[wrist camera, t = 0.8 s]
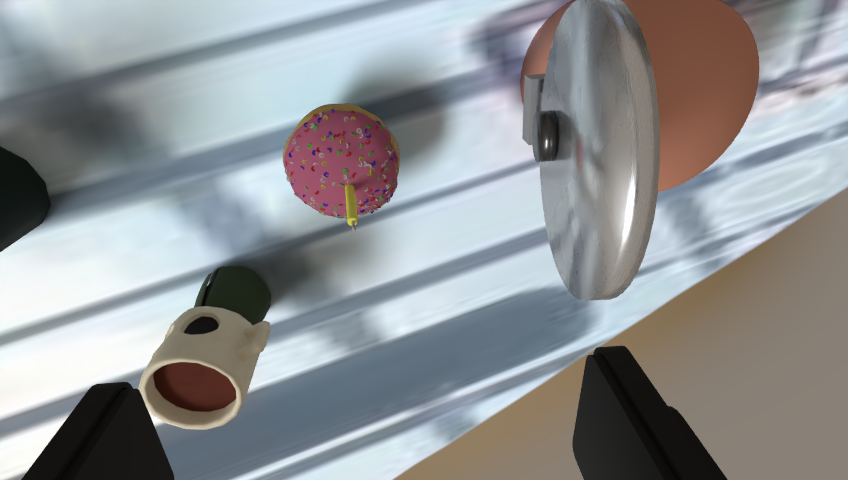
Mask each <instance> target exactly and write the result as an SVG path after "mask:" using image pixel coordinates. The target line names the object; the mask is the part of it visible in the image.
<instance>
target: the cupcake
mask: <svg viewBox="0 0 848 480" xmlns="http://www.w3.org/2000/svg"><path fill="white" fill-rule="evenodd" d="M283 163H284V167H285V173H286V174H287V180H288V179H289V180H288V181H290V184H291V186H292V188H293V190H294V192H295V193H294V195H295V196H298V197H299V198H300V199H301V200H302V201H304V203H305V204H308V205H309V206H310V207H312V208H314V209H315V210H317V211H319V213H322V214H323V215H324V216H325V214H326V215H329V216H333V217H338V218H347V222H348V224H349V225H350V226H352V230H353V231H354V232H355V231H356V228H355V225H356V224H357V222H358V219H357V217H360V215H364V214H366V213H373V212H374V210H375V211H376V210H378V209H377V208H381V206H383V205H384V204H385V203H386V202H387V203H388V202H389V201H390V197H392V196H393V193H394V192H395V190H396V188H397V176H398V171H399V149H398V145H397V143H396V141H395V139H394V137H393V136H392V134H391V133H390V131H389V130H388V129H387V127H386V126H385V124H384V123H383V121H382V120H381V119H380V118H379V117H377V116H375V115H373V114H372V113H370V112H368V111H366V110H364V109H362V108H360V107H358V106H356V105H353V104H327V105H323V106H320V107H318V108H316V109H314V110H313V111H311V112H310V113H308V114H307V115H306V116H305V117H304V118H303V119H302V120H301V121H300V123H299V124H298V125H297V127H296V128H295V130H294V131H293V133H292V134H291V136H290V137H289V138H288V140H287V142H286V145H285V148H284V153H283ZM371 211H373V212H371Z"/></svg>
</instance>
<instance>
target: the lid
mask: <svg viewBox="0 0 848 480" xmlns="http://www.w3.org/2000/svg"><path fill="white" fill-rule="evenodd" d="M532 145H533V153H534V157H535V160H536V161H537V162H540V179H541V192H542V202H543V210H544V217H545V223H546V229H547V234H548V239H549V243H550V247H551V251H552V254H553V258H554V261H555V264H556V267H557V269H558V272H559V274H560V277H561V279H562V280H563V282H564V284H565V286H566V287H567V289H568V290H569V292H570V293H571V294H572V295H573V296H574V297H576V298H578V299H579V300H585V301H589V300H608V299H612V298H616V297H617V296H619V295H620V294H622V293H623V292H624V291H625V290H626V289H627V288H628V286H629V285H630V284H631V282H632V281H633V279H634V277H635V275H636V274H637V272H638V269H639V267H640V265H641V262H642V260H643V258H644V255H645V251H646V248H647V245H648V242H649V238H650V234H651V229H652V225H653V220H654V214H655V207H656V201H657V194H658V182H659V169H660V125H659V109H658V100H657V90H656V84H655V78H654V73H653V67H652V63H651V59H650V55H649V51H648V47H647V44H646V41H645V39H644V36H643V33H642V30H641V28H640V26H639V24H638V22H637V20H636V18H635V16H634V14H633V13H632V12H631V11H630V9H629V8H628V7H627V5H626V4H624V3H623V2H622V1H620V0H576V1H575V2H573V3H572V4H571V5H570V6H569V7H568V9H567V10H566V11H565V13H564V15H563V16H562V18H561V20H560V22H559V25H558V27H557V30H556V32H555V35H554V38H553V41H552V45H551V49H550V52H549V57H548V61H547V66H546V72H545V77H539V78H538V89H537V106H536V113H535V115H534V118H533V126H532Z"/></svg>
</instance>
